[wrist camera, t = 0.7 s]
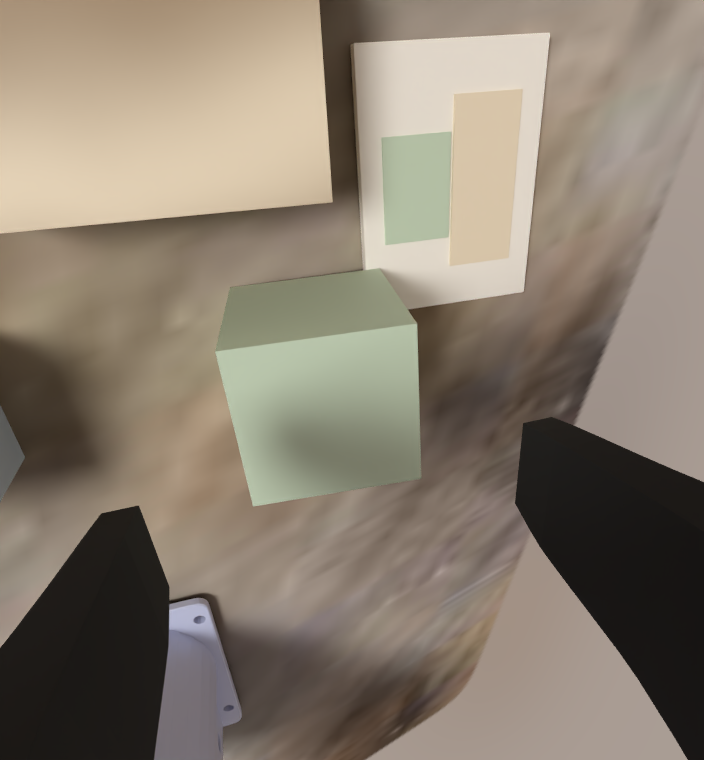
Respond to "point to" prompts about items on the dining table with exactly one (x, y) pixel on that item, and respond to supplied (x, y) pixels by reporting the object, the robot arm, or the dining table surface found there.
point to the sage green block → (321, 385)
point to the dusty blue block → (8, 454)
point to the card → (448, 162)
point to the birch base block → (159, 109)
